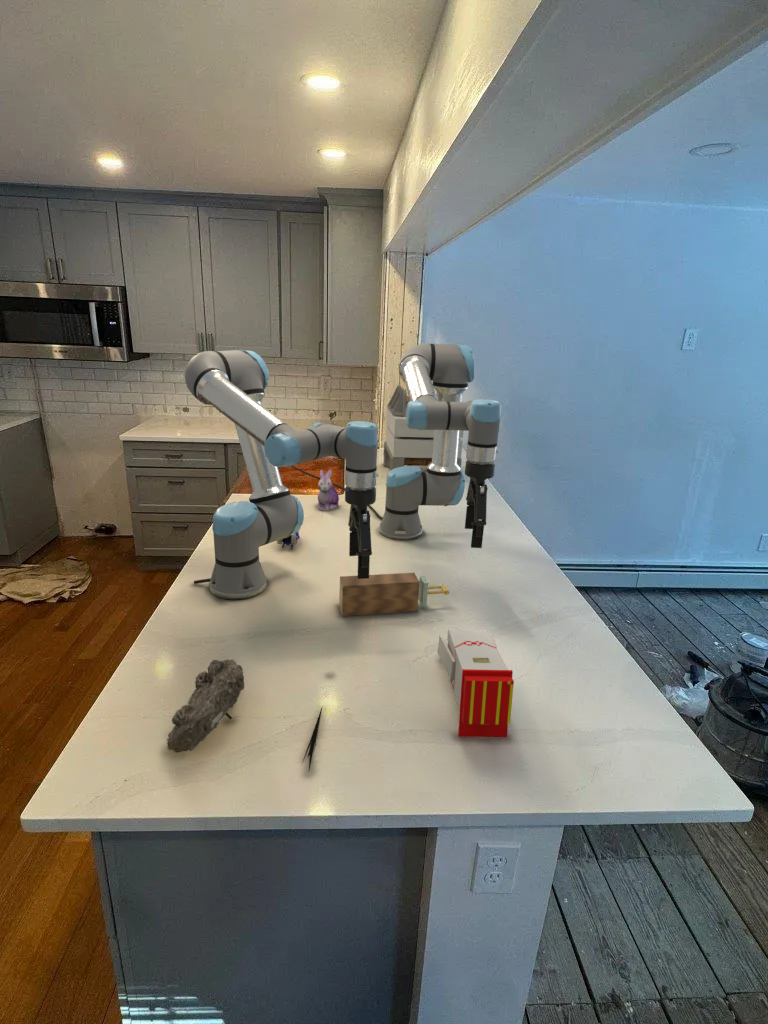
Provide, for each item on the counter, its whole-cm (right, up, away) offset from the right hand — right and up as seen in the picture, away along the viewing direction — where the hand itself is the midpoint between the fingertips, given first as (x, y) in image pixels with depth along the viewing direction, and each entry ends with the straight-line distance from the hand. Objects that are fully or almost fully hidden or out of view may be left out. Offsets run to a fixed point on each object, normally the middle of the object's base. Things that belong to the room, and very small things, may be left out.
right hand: (472, 537), depth 153 cm
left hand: (-30, -7, -9) cm, 32 cm away
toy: (-6, -31, -34) cm, 46 cm away
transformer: (-7, +26, +122) cm, 125 cm away
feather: (-36, -33, -44) cm, 66 cm away
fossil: (-57, -32, -45) cm, 79 cm away
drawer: (-20, -18, -2) cm, 26 cm away
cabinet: (-25, -19, -3) cm, 32 cm away
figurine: (-46, +9, +70) cm, 84 cm away
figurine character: (-55, -3, +35) cm, 66 cm away
